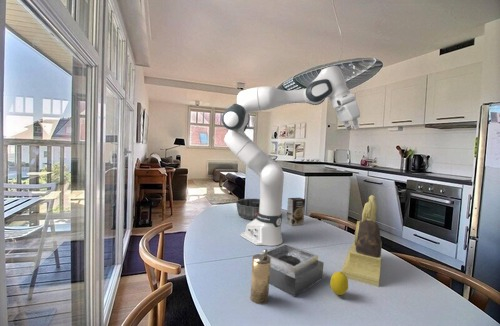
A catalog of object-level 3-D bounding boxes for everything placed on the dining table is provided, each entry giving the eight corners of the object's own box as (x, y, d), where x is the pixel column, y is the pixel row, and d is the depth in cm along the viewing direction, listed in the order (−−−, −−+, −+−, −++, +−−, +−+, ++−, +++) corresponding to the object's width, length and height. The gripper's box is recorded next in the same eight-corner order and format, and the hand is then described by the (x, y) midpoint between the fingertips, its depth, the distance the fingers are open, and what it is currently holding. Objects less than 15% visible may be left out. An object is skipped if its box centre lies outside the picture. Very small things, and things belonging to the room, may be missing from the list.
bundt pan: (226, 215, 173) (227, 200, 172) (255, 210, 191) (255, 196, 190) (254, 225, 154) (254, 209, 153) (282, 218, 172) (283, 203, 171)
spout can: (246, 297, 81) (249, 248, 80) (258, 291, 85) (261, 243, 84) (259, 306, 77) (262, 254, 76) (271, 298, 81) (274, 249, 80)
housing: (253, 275, 95) (254, 252, 94) (283, 261, 108) (284, 241, 107) (294, 297, 82) (296, 271, 82) (322, 278, 95) (324, 255, 95)
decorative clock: (349, 251, 122) (354, 188, 120) (380, 258, 116) (385, 192, 114) (340, 276, 97) (346, 198, 95) (378, 287, 91) (386, 203, 89)
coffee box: (292, 226, 156) (293, 200, 155) (285, 223, 162) (287, 197, 160) (304, 224, 160) (305, 199, 159) (297, 221, 166) (299, 197, 165)
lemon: (326, 290, 87) (328, 267, 87) (342, 290, 88) (344, 267, 87) (333, 300, 82) (335, 275, 81) (350, 300, 82) (352, 276, 82)
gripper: (329, 106, 126) (339, 132, 127) (341, 100, 106) (353, 131, 107) (341, 101, 126) (352, 127, 126) (356, 94, 105) (368, 125, 106)
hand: (353, 129), depth 116 cm, fingers open, 8 cm apart
